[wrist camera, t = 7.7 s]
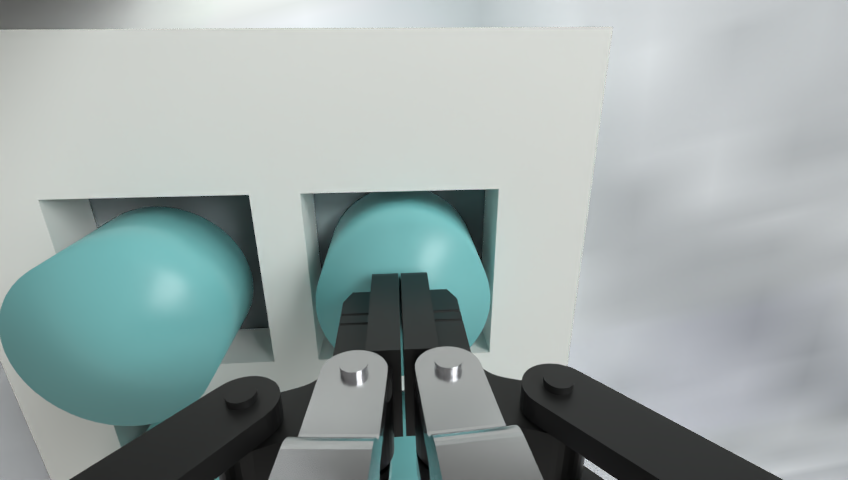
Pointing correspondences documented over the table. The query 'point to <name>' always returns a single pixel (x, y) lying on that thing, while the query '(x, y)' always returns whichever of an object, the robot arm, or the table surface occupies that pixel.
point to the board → (304, 166)
